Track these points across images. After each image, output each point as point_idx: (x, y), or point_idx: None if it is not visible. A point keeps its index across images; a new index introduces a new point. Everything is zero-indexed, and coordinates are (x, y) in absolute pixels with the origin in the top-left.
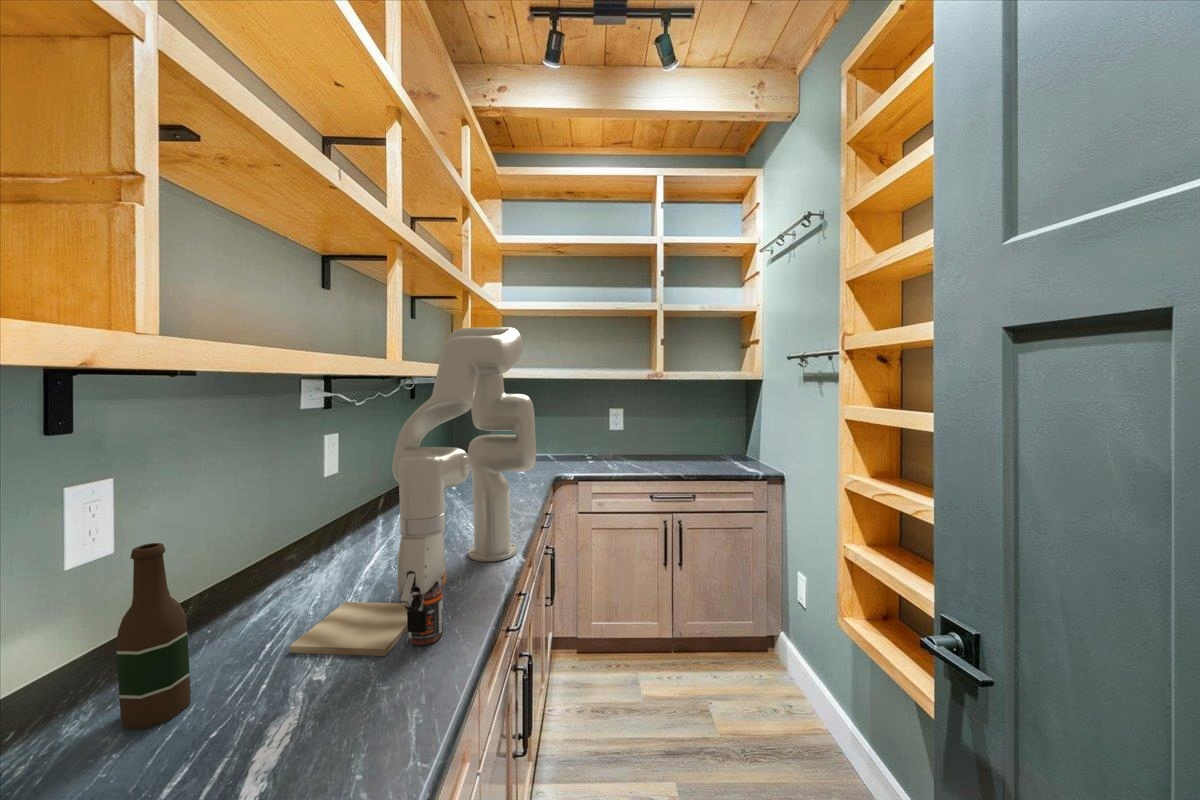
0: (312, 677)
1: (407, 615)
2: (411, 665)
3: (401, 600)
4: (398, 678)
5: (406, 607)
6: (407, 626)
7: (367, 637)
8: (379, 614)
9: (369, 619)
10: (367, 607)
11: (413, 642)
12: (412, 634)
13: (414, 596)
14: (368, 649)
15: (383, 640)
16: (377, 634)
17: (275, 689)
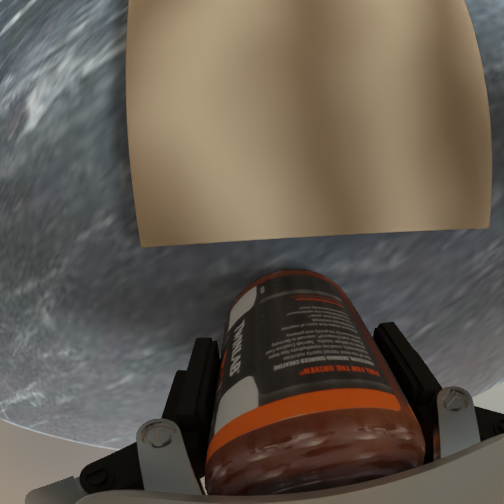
0: (33, 88)
1: (183, 389)
2: (133, 345)
3: (27, 499)
4: (80, 335)
5: (102, 462)
6: (193, 349)
7: (210, 109)
8: (409, 62)
9: (364, 36)
10: (439, 3)
11: (228, 315)
12: (226, 328)
13: (212, 490)
14: (133, 174)
15: (197, 200)
16: (243, 139)
17: (3, 52)
